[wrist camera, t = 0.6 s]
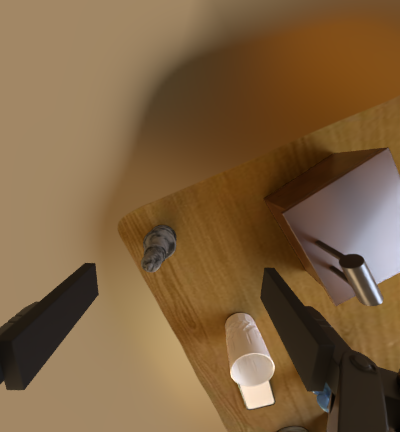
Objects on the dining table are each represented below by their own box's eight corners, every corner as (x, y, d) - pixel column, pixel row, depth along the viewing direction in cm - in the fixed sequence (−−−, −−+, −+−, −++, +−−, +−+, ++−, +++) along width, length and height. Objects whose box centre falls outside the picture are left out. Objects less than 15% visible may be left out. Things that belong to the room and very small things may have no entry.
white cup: (230, 343, 44) (240, 392, 34) (216, 318, 42) (223, 363, 32) (261, 330, 43) (281, 377, 33) (248, 304, 41) (265, 346, 31)
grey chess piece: (142, 230, 36) (118, 259, 25) (170, 219, 36) (158, 243, 24) (156, 255, 38) (138, 294, 26) (182, 245, 37) (176, 279, 26)
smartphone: (275, 401, 49) (263, 357, 45) (276, 404, 48) (263, 359, 44) (246, 408, 49) (231, 365, 45) (247, 411, 49) (232, 368, 45)
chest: (306, 271, 39) (337, 300, 31) (263, 198, 35) (285, 208, 27) (371, 233, 38) (424, 253, 29) (334, 152, 33) (382, 147, 25)
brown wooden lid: (332, 303, 31) (380, 349, 23) (279, 212, 27) (315, 231, 19) (424, 253, 29) (511, 285, 21) (382, 147, 25) (470, 138, 17)
